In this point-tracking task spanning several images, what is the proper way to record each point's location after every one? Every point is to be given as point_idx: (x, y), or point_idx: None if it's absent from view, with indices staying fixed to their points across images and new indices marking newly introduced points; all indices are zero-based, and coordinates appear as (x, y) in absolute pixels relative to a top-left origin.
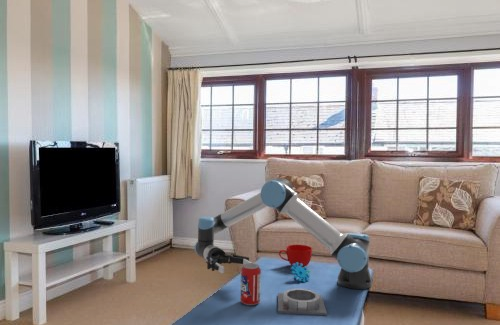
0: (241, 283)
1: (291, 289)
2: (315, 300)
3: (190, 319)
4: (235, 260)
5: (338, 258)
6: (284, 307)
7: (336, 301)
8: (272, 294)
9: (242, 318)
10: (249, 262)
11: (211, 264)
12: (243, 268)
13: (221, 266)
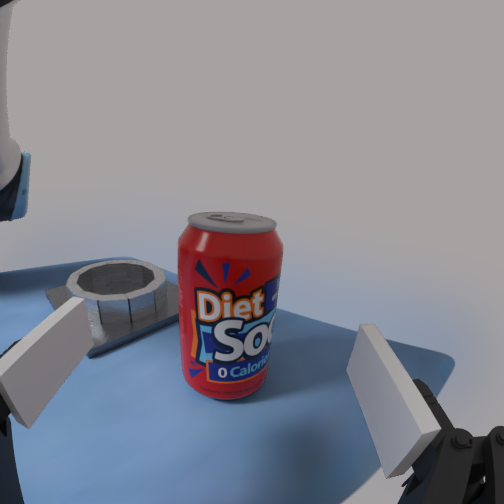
0: (275, 309)
1: (88, 297)
2: (127, 260)
3: (440, 355)
4: (6, 498)
5: (27, 185)
6: (177, 302)
7: (56, 280)
8: (89, 374)
9: (310, 324)
10: (71, 313)
11: (470, 442)
12: (276, 233)
13: (381, 336)
